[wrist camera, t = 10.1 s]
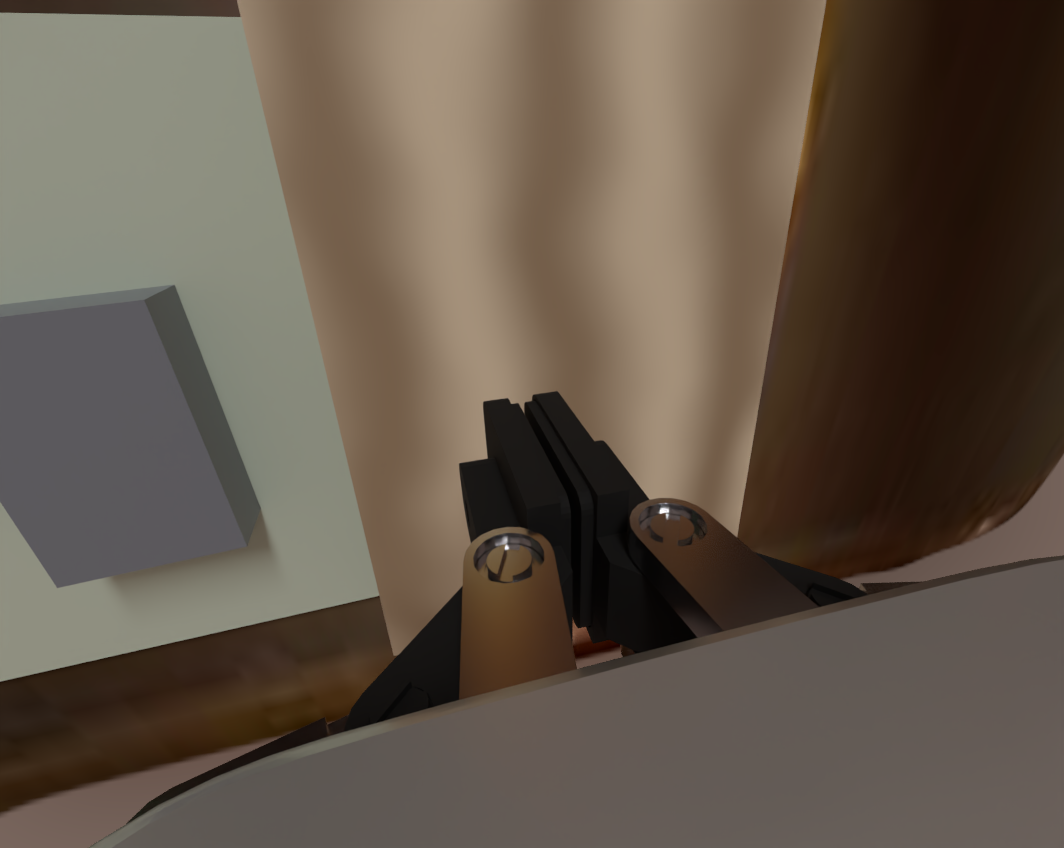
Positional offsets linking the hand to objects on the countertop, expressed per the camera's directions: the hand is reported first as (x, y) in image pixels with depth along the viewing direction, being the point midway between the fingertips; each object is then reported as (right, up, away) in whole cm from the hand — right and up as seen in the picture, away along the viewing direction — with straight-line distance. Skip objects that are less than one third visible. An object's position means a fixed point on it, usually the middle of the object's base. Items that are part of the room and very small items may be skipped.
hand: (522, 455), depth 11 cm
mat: (-15, +1, +6) cm, 17 cm away
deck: (+1, +4, +10) cm, 11 cm away
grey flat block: (-13, 0, +4) cm, 14 cm away
